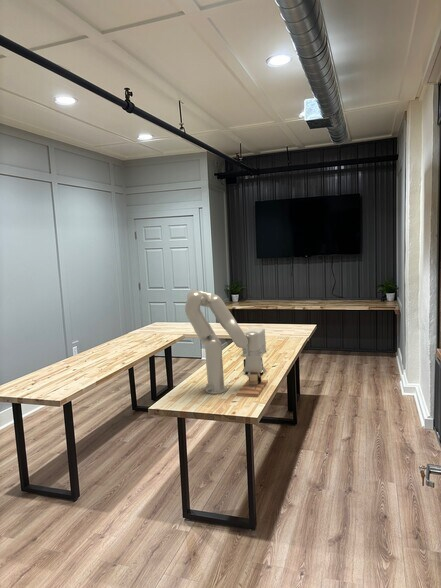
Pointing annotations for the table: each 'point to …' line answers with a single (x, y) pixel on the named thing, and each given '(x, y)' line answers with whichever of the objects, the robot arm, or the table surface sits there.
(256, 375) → the block
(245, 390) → the board
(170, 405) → the table surface
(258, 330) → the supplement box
